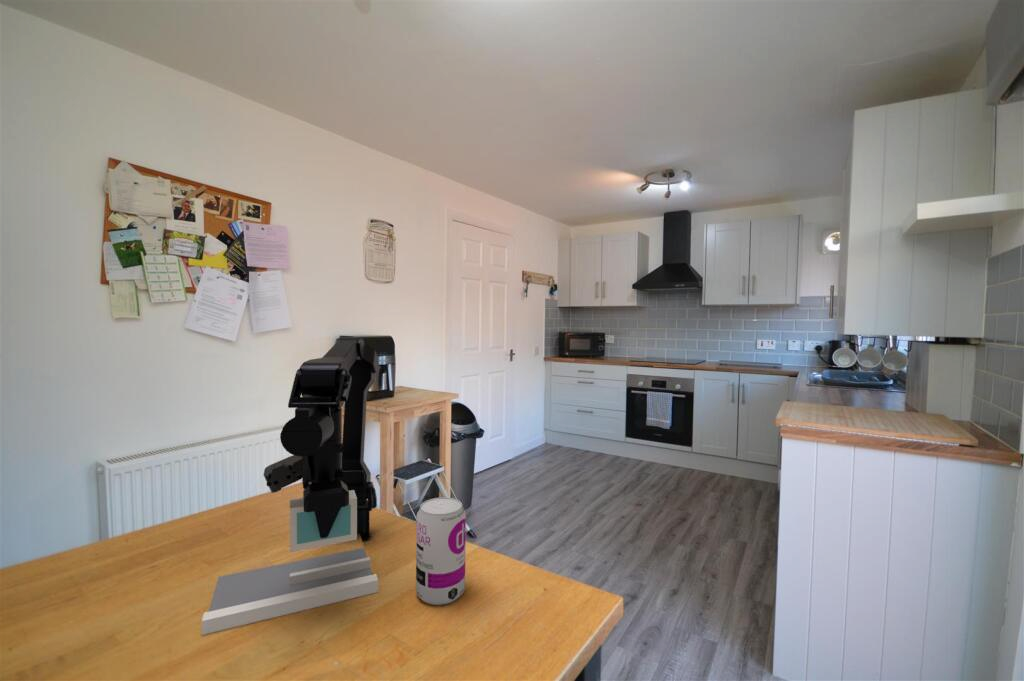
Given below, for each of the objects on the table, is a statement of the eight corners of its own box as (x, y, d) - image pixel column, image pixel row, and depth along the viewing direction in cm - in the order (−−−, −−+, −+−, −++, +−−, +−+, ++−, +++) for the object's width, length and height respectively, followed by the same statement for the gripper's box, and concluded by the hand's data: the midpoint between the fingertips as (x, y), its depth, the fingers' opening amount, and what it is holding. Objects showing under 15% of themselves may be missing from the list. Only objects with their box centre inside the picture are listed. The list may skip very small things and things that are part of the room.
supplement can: (473, 585, 78) (474, 501, 77) (447, 613, 70) (448, 519, 70) (434, 574, 81) (435, 493, 81) (405, 599, 74) (406, 509, 73)
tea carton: (290, 541, 73) (289, 499, 73) (354, 529, 78) (354, 489, 78) (289, 552, 70) (289, 508, 69) (356, 539, 74) (356, 498, 74)
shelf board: (364, 555, 87) (364, 537, 87) (378, 600, 73) (378, 580, 73) (218, 585, 77) (218, 565, 77) (201, 645, 62) (201, 621, 62)
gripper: (270, 430, 78) (270, 517, 79) (263, 460, 61) (264, 571, 62) (338, 424, 83) (338, 507, 83) (349, 451, 66) (349, 554, 67)
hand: (323, 531), depth 74 cm, fingers closed on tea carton, 4 cm apart
